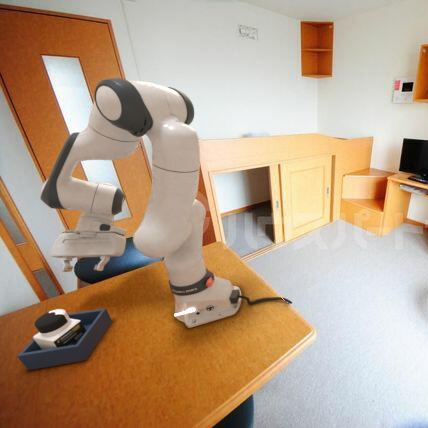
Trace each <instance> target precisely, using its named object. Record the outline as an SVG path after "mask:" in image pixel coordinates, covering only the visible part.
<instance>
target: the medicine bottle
mask: <svg viewBox="0 0 428 428" xmlns="http://www.w3.org/2000/svg"><path fill="white" fill-rule="evenodd" d="M68 314H69V313H67V311H66V310H65V309H62V308H57V309H53V310H49V311H47V312H45V313H43V314H42V315H40V316H39V317H38V318H37V319H36V320H35V322H34V324H33V325H34V327H35V328H36V329H37V331H38V332H37V333H35V334H34V335H33V336H32V339H34V340H35V341H36V342H37V344H38V345H39V347H40V348H41V349H42V350H45V349H51V348H57V347H63V346H70V345H76V344H77V343H78V341H79V340H80V339H81V337H82V336H83V335H84V333H85V332H86V331H87V330H86V329H85V327H84V325H83V324H82V322H81V320H77V319H71V318H69V316H68Z"/></svg>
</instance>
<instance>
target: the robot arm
mask: <svg viewBox="0 0 428 428" xmlns="http://www.w3.org/2000/svg"><path fill="white" fill-rule="evenodd" d="M93 97H94V102H93V104H92V107H91V110H90V112H89V118H88V123H87V126H86V128H85V129H83V130H82V131H77V132H76V131H75V132H72V133H71V134H70V135H69V136H68V137H67V138H66V140H65V142H64V143H63V145H62V148H61V150H60V152H59V153H58V156H57V158H56V160H55V163H54V165H53V167H52V168H51V169H52V170H51V172H50V174H49V176H48V177H47V179H46V180H45V181H44V183H42V186H41V188H40V191H39V192H40V193H39V197H40V200H41V201H42V202H43V204H45V205H46V206H47V207H49V208H50V209H57V210H64V211H65V210H68V211H69V210H70V211H76V212H82V213H81V215H79V218H78V221H77V223H76V227H75V229H65V230H64V231H62V232H60V233H59V235H58V237H57V238H56V239H55V241H54V243H53V245H52V247H51V249H50V252H49V254H50V256H51V257H52V258H58V259H60V262H61V265H62V267H61V268H62V269H61V272H63V273H71V272H73V269H74V266H73V265H71V262H72V261H73V259H76V258H78V259H79V258H81V259H82V258H99V259H100V261H98V263H97V264H94V268H93V271H94V272H102V271H104V268H105V266H106V265H107V264H108V262H109V261H110V259H111V257H117V258H118V257H121V256H123V254H124V253H125V250H126V244H127V238H126V236H127V235H128V230H127V229H124V228H122V227H120V226H117V225H114V224H115V219H114V218H115V215H118V214H120V213H122V212H123V206H124V203H125V200H126V194H125V193H124V192H123V190H121V188H119V187H118V186H117V185H115V184H112V183H110V182H105V181H98V182H93V181H88V180H84V179H80V178H77V177H74V176H73V174H74V172H75V169H76V167H77V165H78V164H79V163H80V162H84V161H120V160H124V159H127V158H129V157H131V156H133V155H134V154H135V153H136V151H137V150H138V148H139V145H140V142H141V139H142V137H143V136H146V137H147V138H148V139H149V141H150V144H151V148H152V151H151V189H150V194H149V198H148V202H147V205H146V207H145V211H144V215H143V217H142V219H141V222H140V224H139V225H138V227H137V229H136V230H135V232H134V234H133V235H132V243H133V245H134V247H135V249H136V250H137V251H138V252H139V253H140V254H141V255H142V256H144V257H147V258H150V259H162V258H164V259H163V264H164V268H165V271H166V273H167V277H168V285H169V288H170V291H171V293H172V295H173V298H174V314H173V315H174V317H175V318H176V320H178V321H180V322H182V323H184V325H185V326H186V327H187V328H189V329H190V328H194V327H198V326H201V325H202V326H203V325H205V324H208V323H211V322H214V321H218V320H221V319H225V318H227V317H231V316H234V315H236V313H237V312H238V311H239V309H240V307H241V304H242V299H243V300H246V303H247V304H248V305H254V304H257V303H260V302H264V301H284V300H285V301H284V302H286V303H287V304H290V305H292V304H293V302H292V301H291V300H290V299H288V298H285V297H282V298H283V299H284V300H283V299H282V298H281V296H275V297H274V296H273V297H271V296H270V297H262V298H257V299H255V300H251V299H250V298H249V297H247V296H246V295H242V291H241V289H240V287H239V286H237V285H233V283H232V281H231V280H230V279H226V278H224V277H223V278H222V277H219V276H216V275H215V274H214V272H215V270H214V268H211V270H209V269H208V268H207V267H206V262H205V257H204V252H203V251H204V250H203V241H204V239H203V237H204V236H203V235H204V223H205V219H206V216H207V209H206V207H205V205H204V204H203V203H202V202H201V201H200V200H199V199H196V198H197V196H198V193H199V184H200V183H199V182H200V171H201V170H200V169H201V145H200V140H199V139H200V137H199V135H198V132H197V131H196V130H195V128H193V127H192V126H190V125H191V124H192V123H193V121H194V118H195V107H194V104H193V102H192V100H191V98H190V97H189V96H188V95H187V94H186V93H184V92H183V91H181V90H179V89H177V88H174V87H171V86H163V85H160V84H156V83H153V82H150V81H144V80H136V79H135V80H134V79H126V78H125V79H124V78H123V77H122V78H121V77H113V78H112V77H111V78H106V79H102V80H100V81H99V82H98V83H97V84H96V86H95V89H94V95H93Z"/></svg>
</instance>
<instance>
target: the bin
mask: <svg viewBox="0 0 428 428" xmlns="http://www.w3.org/2000/svg"><path fill="white" fill-rule="evenodd" d="M67 314H68V316H69V318H71V319H77V320H81V322H82V324H83V325H84V327H85V329H86V330H87V331H86V332H85V333H84V335H83V336H82V337H81V339H80V340H79V341H78V343H77V344H76V345H70V346H63V347H57V348H51V349H45V350H42V349H41V348H40V347H39V345H38V344H37V342H36V341H35V340H34V338H32V340H31V341H30V342H29V343H28V344H27V345H26V346H25V347H24V348H23V349H22V350H21V351H20V352H19V353H18V354H17V356H16V357H17V359H18V360H19V361H20V362H21V363H22V364H23V366H24V367H25V368H26V370H27V371H32V370H38V369H43V368H44V369H45V368H50V367H54V366H55V367H56V366H61V365H66V364H67V365H68V364H73V363H79V362H83V361H84V362H85V361H87V360H88V358H90V356H91V354H92V353H93V351H94V350H95V348H96V347H97V345H98V344H99V342H100V341H101V340H102V338H103V336H104V335H105V333H106V332H107V330H108V329H109V327H110V326H111V324H112V323H113V319H112V317H111V316H110V314H109V312H108V310H107V308H99V309H91V310H85V311H78V312H77V311H76V312H70V313H67Z"/></svg>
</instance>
